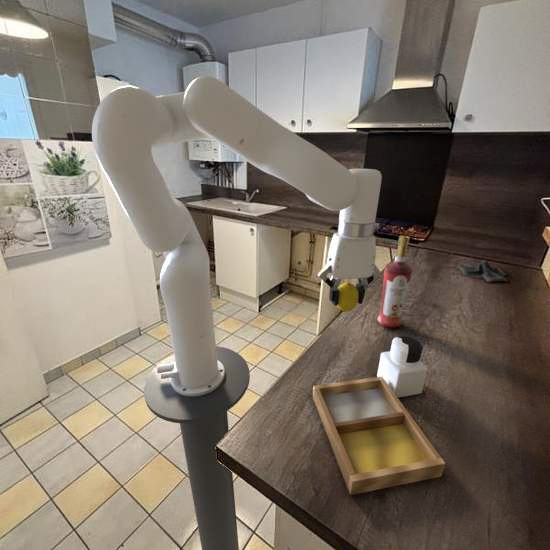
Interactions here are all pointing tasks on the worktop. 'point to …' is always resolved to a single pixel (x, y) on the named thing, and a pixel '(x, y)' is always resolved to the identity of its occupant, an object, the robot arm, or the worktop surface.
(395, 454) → the tray
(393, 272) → the liquor
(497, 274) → the cloth
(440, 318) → the worktop surface
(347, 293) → the lemon
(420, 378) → the medicine bottle
